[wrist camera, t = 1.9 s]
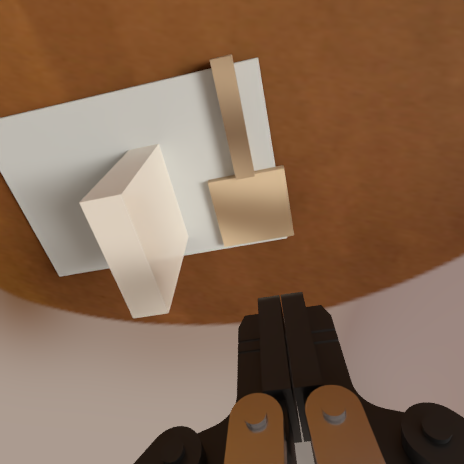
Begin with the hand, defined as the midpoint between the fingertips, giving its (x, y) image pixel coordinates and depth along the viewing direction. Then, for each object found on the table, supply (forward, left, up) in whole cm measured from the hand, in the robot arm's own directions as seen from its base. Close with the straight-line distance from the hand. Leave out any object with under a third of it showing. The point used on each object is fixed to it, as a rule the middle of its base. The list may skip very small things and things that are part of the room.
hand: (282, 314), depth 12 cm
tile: (0, -7, -13) cm, 15 cm away
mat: (-1, -8, -14) cm, 16 cm away
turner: (-1, -1, -13) cm, 13 cm away
